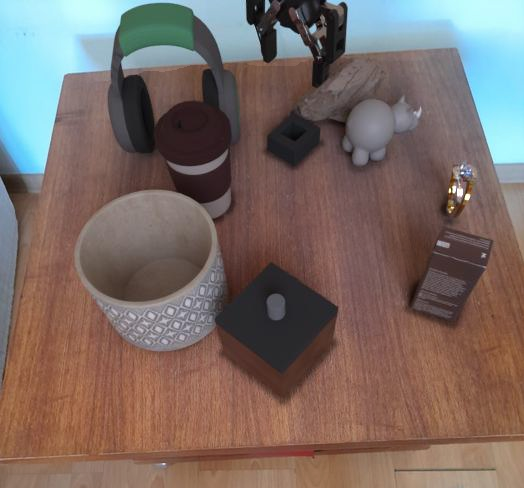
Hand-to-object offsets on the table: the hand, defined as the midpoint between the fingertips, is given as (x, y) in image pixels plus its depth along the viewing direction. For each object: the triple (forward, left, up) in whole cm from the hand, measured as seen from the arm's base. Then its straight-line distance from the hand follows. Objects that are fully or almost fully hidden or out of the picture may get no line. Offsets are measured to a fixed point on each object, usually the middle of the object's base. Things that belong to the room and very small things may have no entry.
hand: (293, 71), depth 66 cm
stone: (-10, +1, -13) cm, 16 cm away
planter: (+33, +5, -13) cm, 36 cm away
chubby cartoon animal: (-8, +11, -13) cm, 19 cm away
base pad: (+29, +21, -5) cm, 36 cm away
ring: (-4, +26, -13) cm, 29 cm away
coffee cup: (+17, -3, -13) cm, 22 cm away
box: (+11, +33, -13) cm, 37 cm away
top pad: (0, 0, -13) cm, 13 cm away
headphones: (+10, -15, -13) cm, 22 cm away
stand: (+29, +21, -13) cm, 38 cm away
